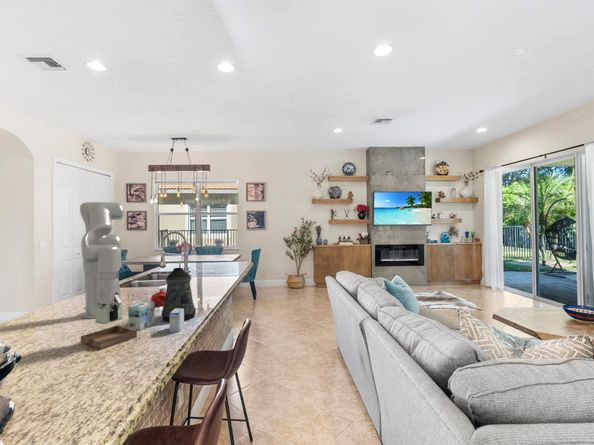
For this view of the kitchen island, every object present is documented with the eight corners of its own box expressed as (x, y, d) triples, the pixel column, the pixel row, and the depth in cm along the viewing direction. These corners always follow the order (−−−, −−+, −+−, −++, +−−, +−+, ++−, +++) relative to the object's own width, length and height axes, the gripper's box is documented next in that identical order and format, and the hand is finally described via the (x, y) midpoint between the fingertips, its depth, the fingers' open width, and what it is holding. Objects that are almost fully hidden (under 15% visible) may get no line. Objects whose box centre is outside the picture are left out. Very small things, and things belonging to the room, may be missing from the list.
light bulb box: (140, 330, 151) (140, 307, 151) (127, 329, 153) (127, 306, 153) (155, 323, 162) (155, 301, 162) (143, 322, 163) (142, 300, 163)
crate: (80, 343, 136) (80, 336, 136) (117, 331, 150) (117, 325, 150) (100, 349, 130) (100, 342, 129) (136, 337, 143) (136, 330, 143)
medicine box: (174, 326, 157) (174, 308, 156) (184, 326, 157) (184, 308, 157) (169, 332, 149) (169, 313, 149) (179, 332, 149) (179, 312, 149)
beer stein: (177, 324, 160) (176, 272, 159) (150, 318, 169) (149, 269, 169) (202, 315, 174) (202, 267, 174) (176, 310, 183) (176, 265, 183)
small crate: (95, 322, 137) (95, 307, 137) (114, 317, 144) (114, 303, 144) (103, 324, 134) (103, 309, 134) (122, 319, 141) (122, 304, 141)
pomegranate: (147, 306, 193) (146, 290, 192) (159, 302, 202) (159, 286, 202) (160, 307, 189) (160, 291, 189) (173, 303, 199) (172, 287, 198)
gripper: (87, 275, 140) (88, 318, 140) (112, 278, 132) (113, 324, 132) (105, 273, 147) (106, 314, 147) (129, 276, 138) (130, 319, 138)
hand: (109, 318), depth 139 cm, fingers closed on small crate, 5 cm apart
